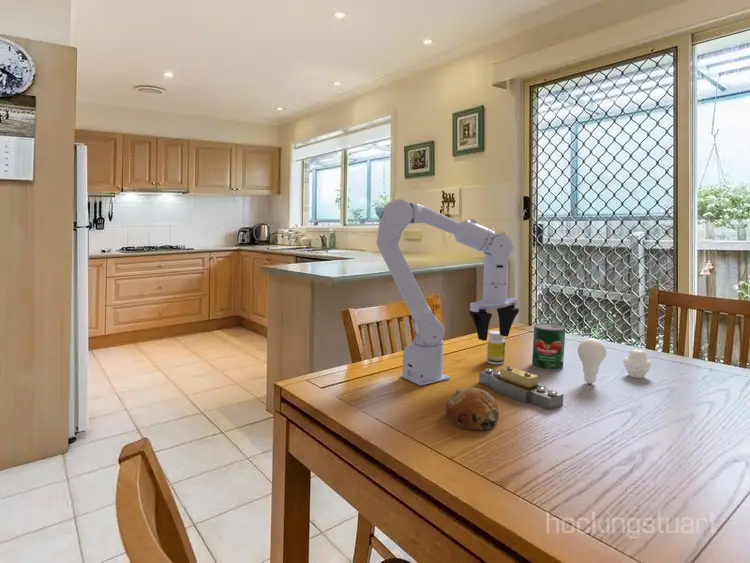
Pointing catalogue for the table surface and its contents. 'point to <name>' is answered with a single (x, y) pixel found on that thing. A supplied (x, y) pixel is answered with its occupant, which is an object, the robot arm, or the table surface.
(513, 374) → the link
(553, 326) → the canned tomato
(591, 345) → the lightbulb
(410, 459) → the table surface
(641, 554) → the table surface
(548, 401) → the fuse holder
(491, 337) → the supplement bottle
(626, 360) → the muffin
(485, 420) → the bread roll
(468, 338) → the table surface
